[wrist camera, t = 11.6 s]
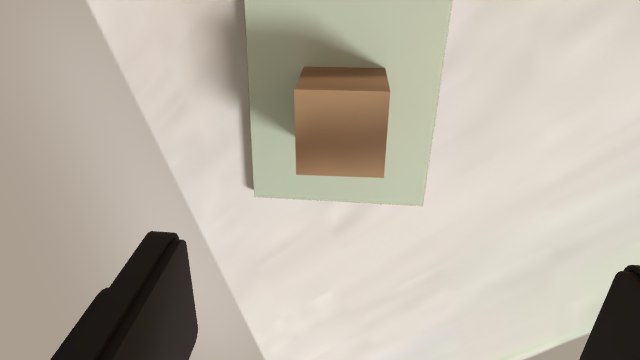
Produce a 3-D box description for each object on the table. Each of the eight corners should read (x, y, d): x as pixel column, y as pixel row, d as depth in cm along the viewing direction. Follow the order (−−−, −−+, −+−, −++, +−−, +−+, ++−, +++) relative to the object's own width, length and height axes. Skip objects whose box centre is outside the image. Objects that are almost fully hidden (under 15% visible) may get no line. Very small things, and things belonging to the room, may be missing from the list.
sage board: (246, -16, 27) (243, -14, 27) (451, -9, 27) (453, -8, 26) (256, 191, 34) (254, 196, 33) (421, 200, 33) (422, 206, 32)
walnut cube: (304, 66, 29) (294, 89, 24) (385, 68, 28) (390, 91, 24) (304, 141, 31) (296, 174, 26) (380, 143, 31) (383, 178, 26)
